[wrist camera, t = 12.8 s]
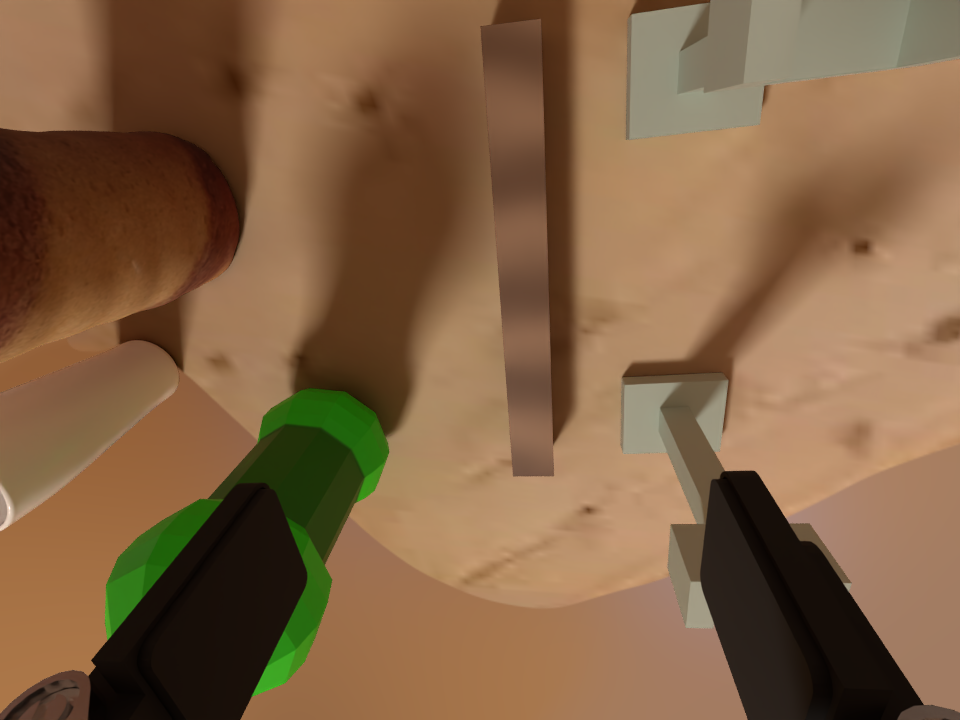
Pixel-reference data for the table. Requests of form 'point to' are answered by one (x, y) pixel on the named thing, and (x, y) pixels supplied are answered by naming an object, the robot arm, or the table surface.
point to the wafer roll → (104, 229)
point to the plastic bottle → (304, 499)
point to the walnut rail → (521, 234)
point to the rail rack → (729, 104)
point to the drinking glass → (74, 420)
